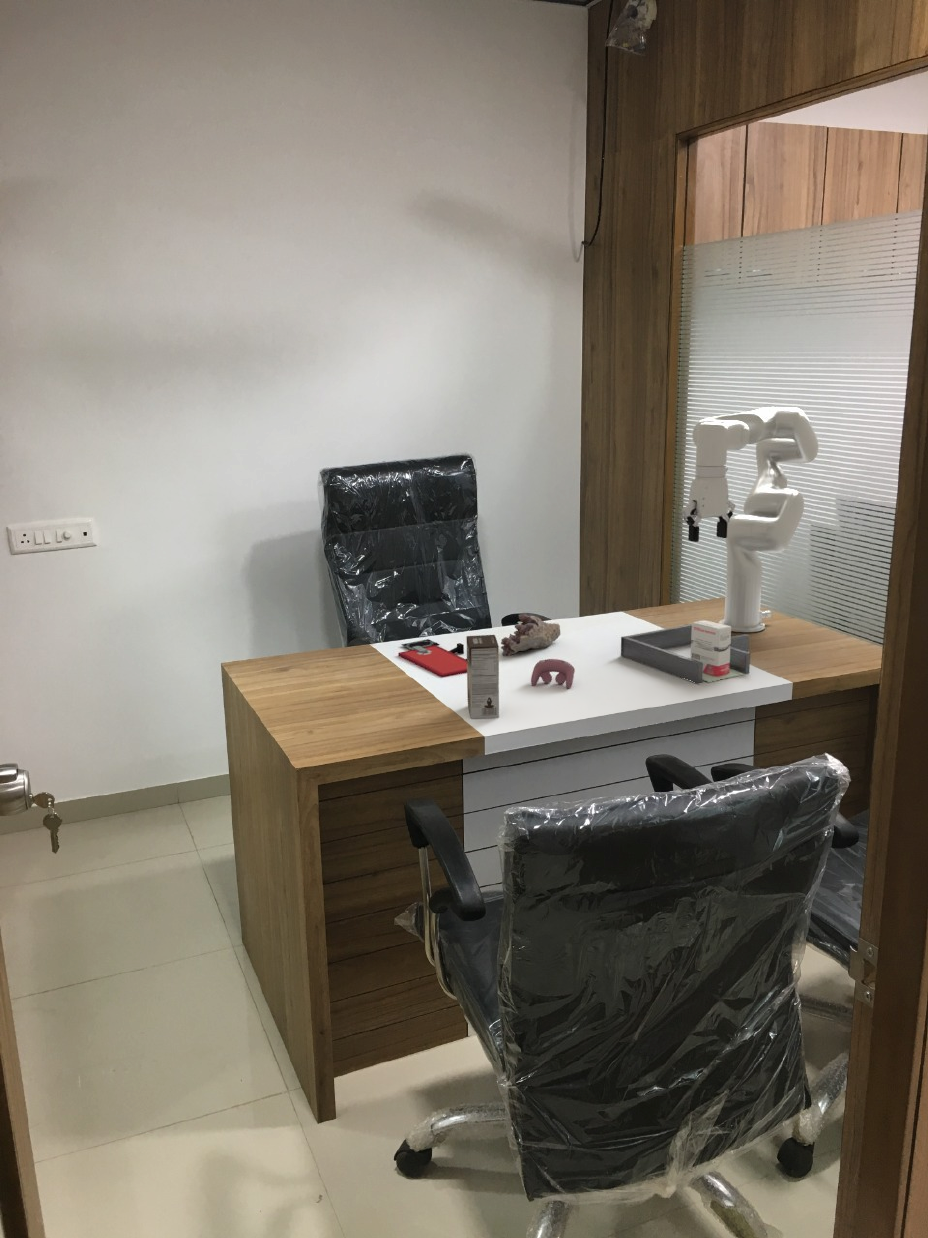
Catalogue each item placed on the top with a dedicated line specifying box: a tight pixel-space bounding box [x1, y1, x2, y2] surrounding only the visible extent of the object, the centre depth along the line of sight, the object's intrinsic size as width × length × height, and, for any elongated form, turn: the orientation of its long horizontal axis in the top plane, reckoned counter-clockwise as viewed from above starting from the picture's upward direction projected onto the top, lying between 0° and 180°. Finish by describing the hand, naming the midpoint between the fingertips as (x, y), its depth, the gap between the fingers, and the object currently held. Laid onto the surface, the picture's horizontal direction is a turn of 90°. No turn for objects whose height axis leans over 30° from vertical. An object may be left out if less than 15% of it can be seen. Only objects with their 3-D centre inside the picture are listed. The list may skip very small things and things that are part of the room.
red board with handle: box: [397, 638, 467, 678], centre depth 258 cm, size 30×3×15 cm
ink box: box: [689, 620, 732, 677], centre depth 241 cm, size 8×5×12 cm, turn 37°
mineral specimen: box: [500, 613, 561, 657], centre depth 265 cm, size 20×10×10 cm
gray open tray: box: [620, 623, 751, 684], centre depth 252 cm, size 28×28×5 cm
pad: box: [702, 668, 744, 683], centre depth 242 cm, size 11×11×1 cm
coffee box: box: [466, 634, 500, 720], centre depth 216 cm, size 9×6×16 cm
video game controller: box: [530, 658, 575, 689], centre depth 235 cm, size 10×5×7 cm, turn 72°
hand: (707, 539), depth 259 cm, fingers open, 9 cm apart
